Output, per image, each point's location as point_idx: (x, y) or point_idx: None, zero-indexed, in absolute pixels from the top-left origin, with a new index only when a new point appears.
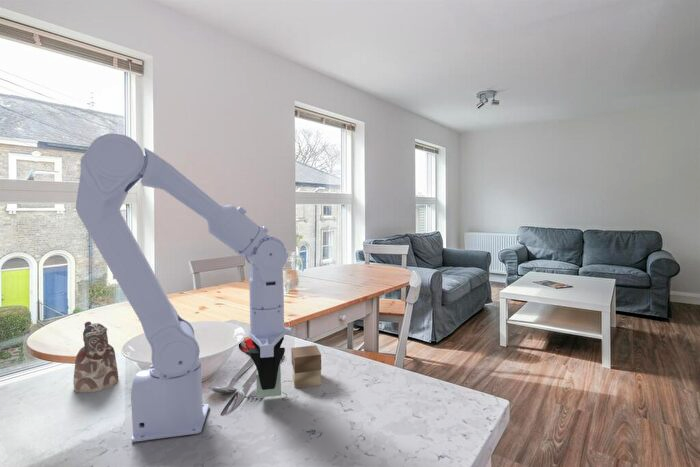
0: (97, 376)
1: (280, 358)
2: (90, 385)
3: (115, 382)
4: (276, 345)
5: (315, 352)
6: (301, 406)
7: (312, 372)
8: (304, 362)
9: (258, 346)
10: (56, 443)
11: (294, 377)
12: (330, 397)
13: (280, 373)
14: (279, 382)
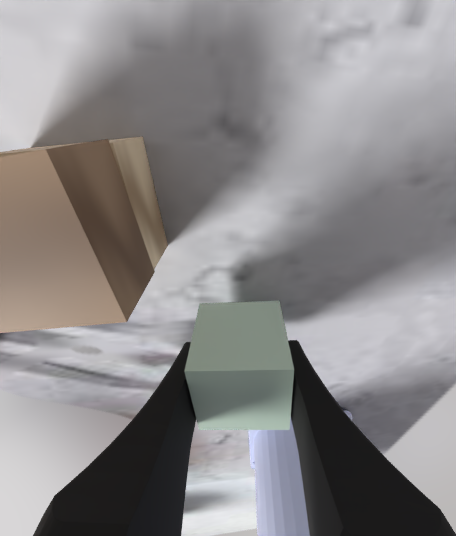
0: None
1: (413, 488)
2: None
3: None
4: (159, 486)
5: (14, 195)
6: (306, 223)
7: (131, 191)
8: (121, 254)
9: (177, 529)
10: None
11: (156, 263)
12: (268, 95)
13: (292, 366)
14: (287, 338)
